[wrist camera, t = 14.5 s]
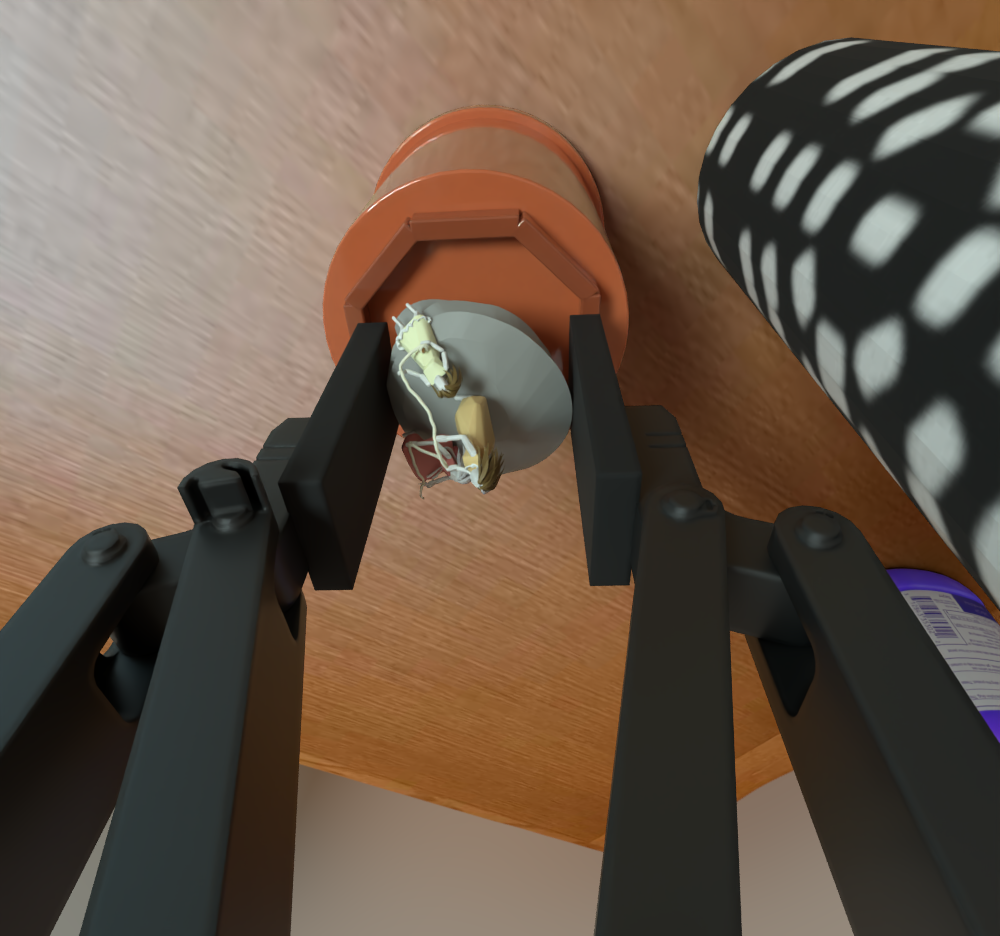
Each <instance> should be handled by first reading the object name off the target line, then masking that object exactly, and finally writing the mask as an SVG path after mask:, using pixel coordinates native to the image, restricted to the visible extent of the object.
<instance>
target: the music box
mask: <svg viewBox="0 0 1000 936" xmlns="http://www.w3.org/2000/svg"><path fill="white" fill-rule="evenodd" d="M429 299H439V300H448V301H452V300H457V301H469V302H476V303H483V304H489V305H494V306H498V307H501V308H503V309H505V310H507V311H509V312H511V313H513V314H514V315H516V316H517V317H519V318H520V319H521V320H523V321H524V322H525V323H526V324H527V325H528V326H529V327H530V328H531V329H532V330H533V331H534V333H535V334H536V335H537V336H538V338H539V339H540V340H541V341H542V343H543V344H544V345H545V347H546V348H547V349H548V350H549V352H550V354H551V357H552V359H553V361H554V362H555V363H556V365H557V366H558V368H559V369H560V371H561V373H562V374H563V376H564V378H565V380H566V383H567V385H568V371H569V322H570V315H584V314H600V316H601V320H602V324H603V328H604V331H605V335H606V339H607V343H608V347H609V350H610V354H611V358H612V362H613V365H614V369H615V373H616V374H617V372H618V370H619V367H620V365H621V362H622V359H623V355H624V352H625V349H626V344H627V337H628V331H629V306H628V298H627V290H626V287H625V283H624V280H623V276H622V272H621V269H620V267H619V264H618V262H617V259H616V257H615V254H614V252H613V249H612V247H611V244H610V242H609V239H608V237H607V234H606V232H605V228H604V215H603V207H602V203H601V199H600V195H599V192H598V189H597V186H596V184H595V182H594V179H593V177H592V174H591V172H590V170H589V168H588V167H587V165H586V163H585V162H584V160H583V158H582V157H581V155H580V154H579V153H578V151H577V150H576V149H575V148H574V146H573V145H572V144H571V143H570V142H569V141H568V140H567V139H566V138H565V137H564V136H563V135H562V134H561V133H560V132H559V131H557V130H556V129H555V128H553V127H552V126H550V125H549V124H547V123H546V122H545V121H543V120H541V119H539V118H537V117H535V116H533V115H531V114H529V113H526V112H523V111H520V110H517V109H514V108H509V107H503V106H497V105H475V106H468V107H462V108H458V109H455V110H451V111H448V112H445V113H443V114H441V115H439V116H437V117H434V118H432V119H430V120H429V121H427V122H426V123H424V124H423V125H421V126H420V127H418V128H417V129H416V130H415V131H414V132H413V133H411V134H410V135H409V136H408V137H407V138H406V139H405V140H404V141H403V142H402V144H401V145H400V146H399V147H398V148H397V150H396V151H395V152H394V153H393V154H392V156H391V157H390V159H389V161H388V162H387V164H386V166H385V167H384V169H383V171H382V173H381V175H380V178H379V180H378V182H377V185H376V188H375V192H374V195H373V197H372V198H371V199H370V201H369V202H368V203H367V205H366V206H365V207H364V209H363V210H362V211H361V213H360V214H359V215H358V217H357V218H356V219H355V221H354V222H353V223H352V225H351V226H350V227H349V229H348V230H347V232H346V234H345V235H344V237H343V238H342V240H341V242H340V243H339V245H338V247H337V249H336V251H335V254H334V256H333V258H332V261H331V263H330V266H329V270H328V274H327V277H326V281H325V287H324V296H323V323H324V329H325V334H326V340H327V343H328V347H329V350H330V353H331V356H332V359H333V361H334V363H335V366H337V364H338V362H339V360H340V358H341V356H342V354H343V352H344V350H345V348H346V346H347V344H348V342H349V340H350V338H351V336H352V334H353V332H354V330H355V328H356V326H357V324H358V323H374V322H387V324H388V330H389V336H390V342H391V348H392V349H393V346H394V344H395V342H396V337H397V333H396V330H395V324H396V322H395V321H394V320H393V319H392V317H393V316H394V317H396V318H397V317H398V316H399V315H400V313H401V312H402V311H403V310H404V309H405V308H407V306H406V303H409V304H410V305H411V304H413V303H416V302H418V301H422V300H429ZM569 430H570V428H569ZM404 433H405V432H404V430H403V429H402V427H401V426H400V424H399V427H398V431H397V434H398V435H400V436H401V437H403V436H402V434H404ZM403 438H404V437H403Z"/></svg>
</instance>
